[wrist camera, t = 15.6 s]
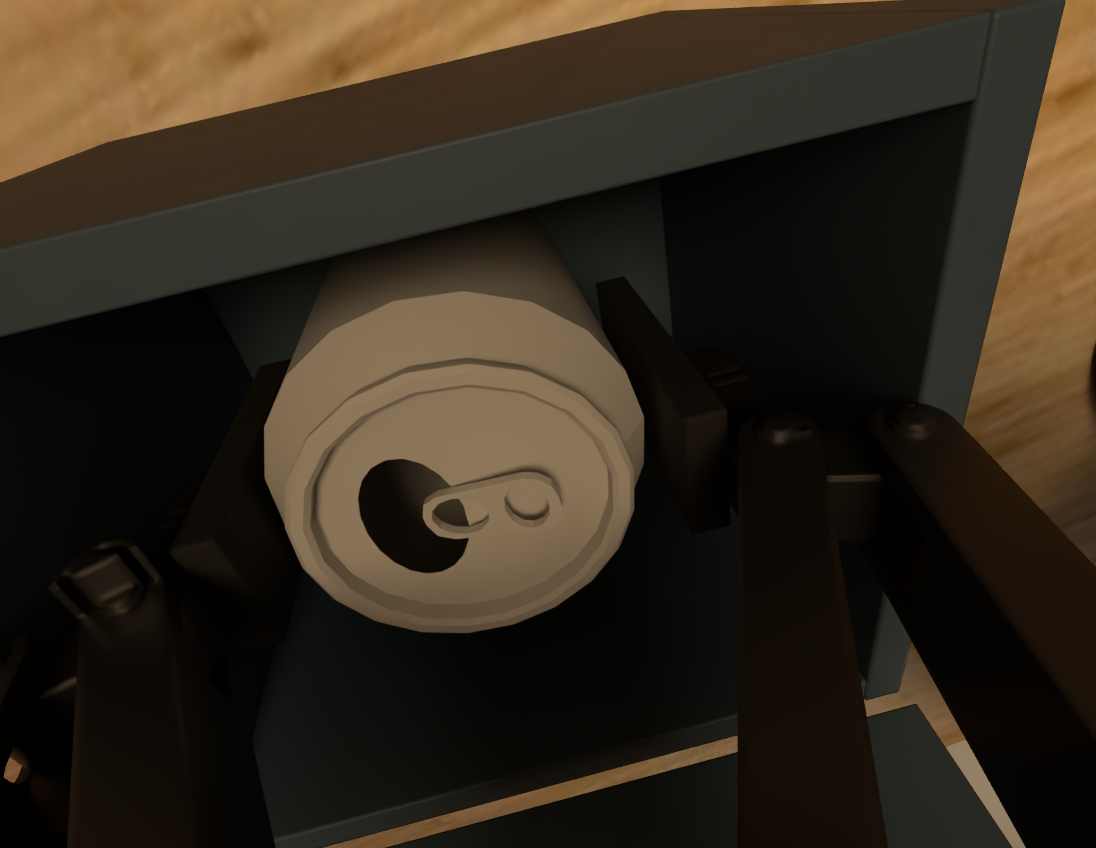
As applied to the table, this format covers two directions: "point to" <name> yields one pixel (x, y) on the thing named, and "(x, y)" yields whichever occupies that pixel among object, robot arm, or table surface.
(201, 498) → the robot arm
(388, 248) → the can
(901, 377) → the bin
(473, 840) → the bin lid
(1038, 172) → the table surface
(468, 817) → the table surface
